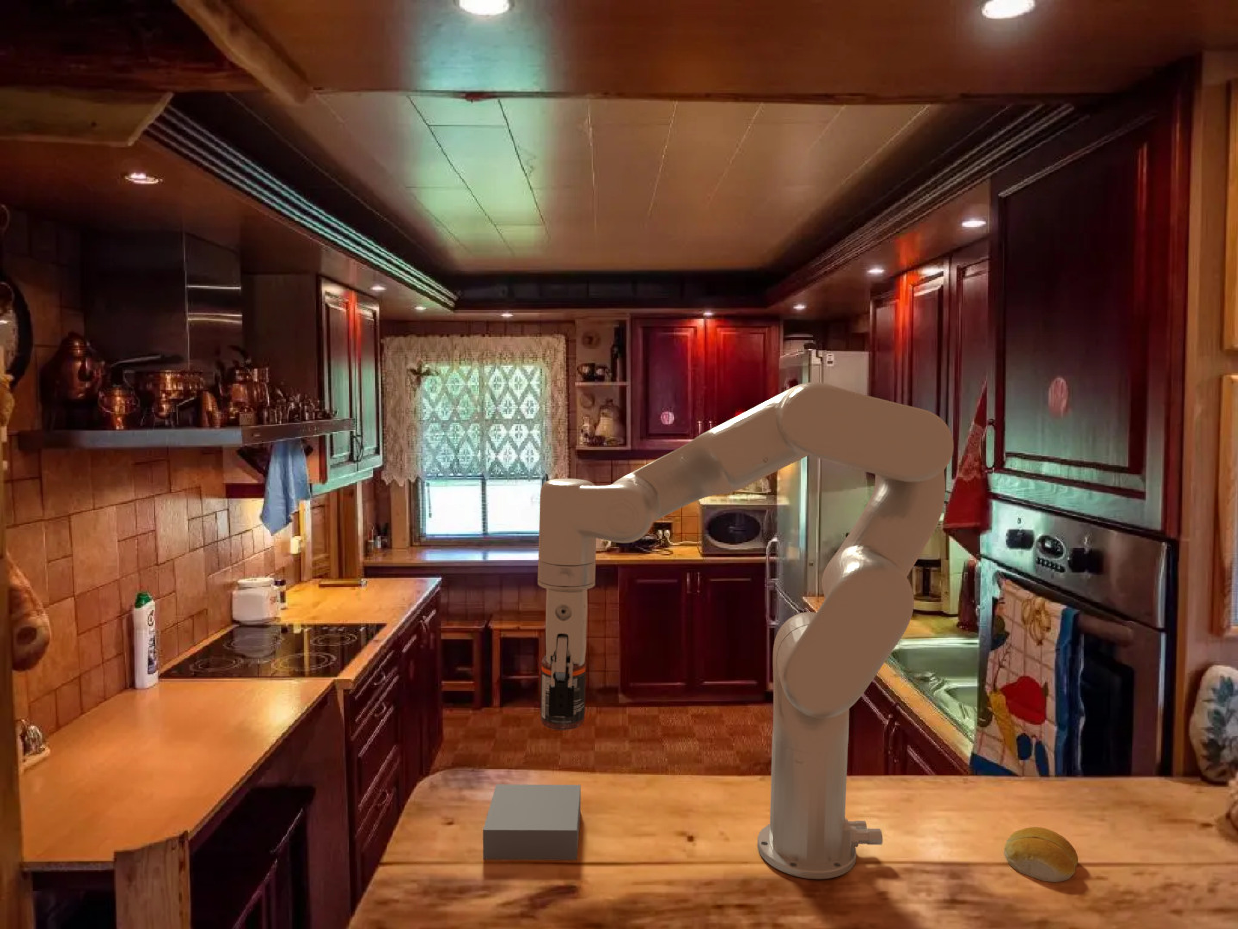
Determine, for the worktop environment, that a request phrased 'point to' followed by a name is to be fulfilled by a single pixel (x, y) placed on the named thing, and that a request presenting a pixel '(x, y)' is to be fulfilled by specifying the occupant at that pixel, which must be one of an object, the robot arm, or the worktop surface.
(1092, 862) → the worktop surface
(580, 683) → the supplement bottle
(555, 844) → the pedestal
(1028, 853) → the bread roll
